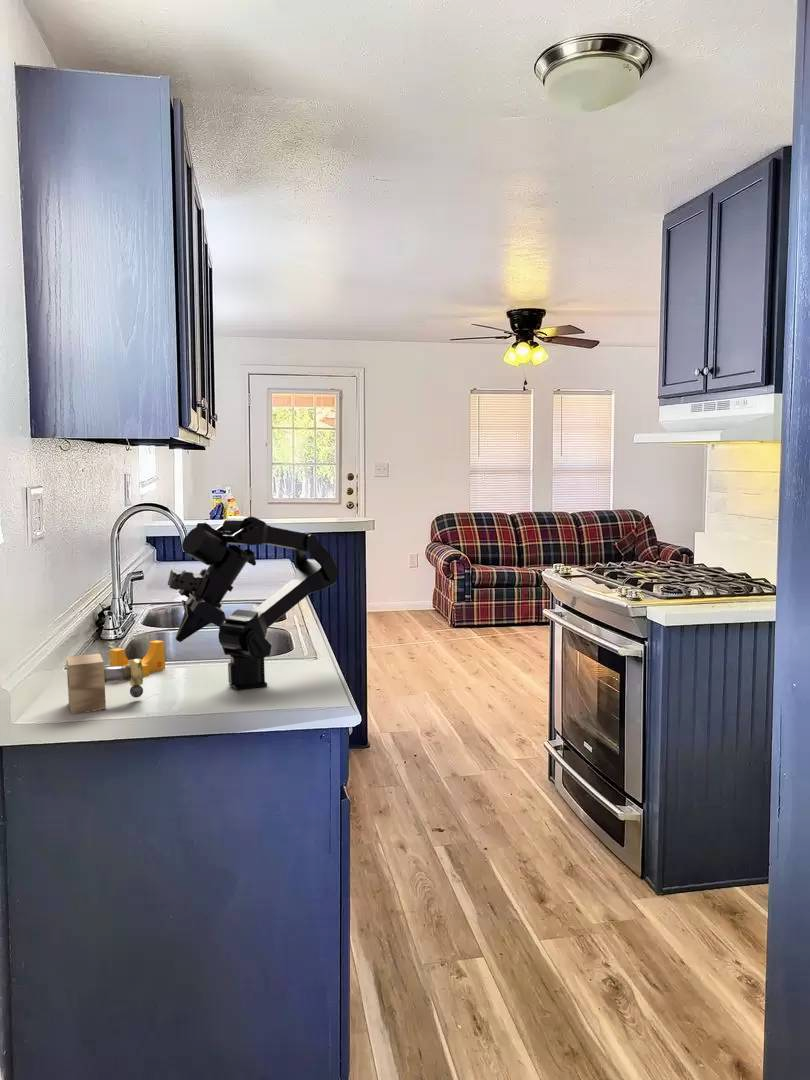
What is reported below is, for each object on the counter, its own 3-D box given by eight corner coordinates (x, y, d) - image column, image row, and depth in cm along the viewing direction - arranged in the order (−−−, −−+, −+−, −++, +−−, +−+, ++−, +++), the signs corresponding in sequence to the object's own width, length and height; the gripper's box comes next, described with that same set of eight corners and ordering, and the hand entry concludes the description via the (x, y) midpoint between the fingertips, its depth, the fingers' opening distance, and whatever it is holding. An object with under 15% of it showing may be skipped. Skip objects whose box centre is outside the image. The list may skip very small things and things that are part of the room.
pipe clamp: (122, 682, 176) (121, 652, 176) (110, 679, 179) (109, 649, 178) (170, 670, 186) (168, 642, 185) (158, 668, 188) (156, 640, 188)
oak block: (102, 699, 162) (99, 653, 161) (105, 709, 155) (103, 661, 154) (68, 703, 159) (66, 656, 159) (71, 714, 152) (68, 665, 151)
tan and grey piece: (141, 693, 163) (139, 656, 163) (145, 699, 159) (143, 661, 158) (88, 699, 159) (86, 661, 159) (90, 706, 155) (88, 667, 154)
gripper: (179, 545, 171) (136, 609, 169) (195, 561, 154) (147, 633, 152) (225, 572, 175) (183, 635, 174) (245, 591, 158) (199, 661, 157)
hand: (177, 640), depth 164 cm, fingers closed
